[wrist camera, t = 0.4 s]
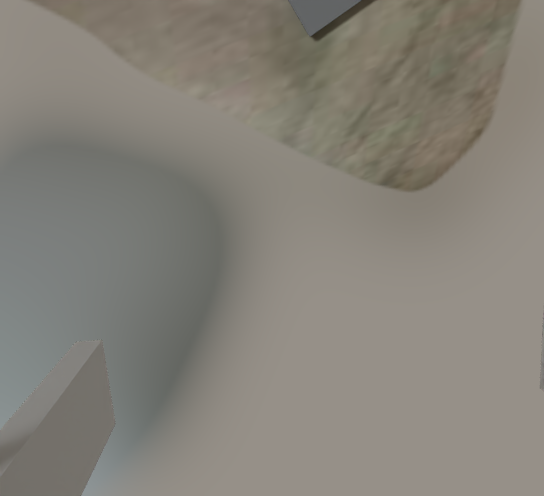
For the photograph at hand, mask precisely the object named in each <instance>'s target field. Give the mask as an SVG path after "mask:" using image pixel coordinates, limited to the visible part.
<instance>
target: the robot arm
mask: <svg viewBox="0 0 544 496" xmlns="http://www.w3.org/2000/svg"><path fill="white" fill-rule="evenodd" d="M540 388H541V389H542V390H543V391H544V314H543V334H542V354H541V375H540ZM114 426H115V418H114V411H113V405H112V399H111V393H110V386H109V380H108V374H107V367H106V361H105V355H104V348H103V342H102V340H93V341H81V342H75V344H74V345H73V346H72V347H71V348H70V349H69V351H68V352H67V353H66V354H65V355H64V356H63V357H62V359H61V360H60V361H59V362H58V363H57V365H56V366H55V367H54V368H53V369H52V370H51V371H50V373H49V374H48V375H47V376H46V377H45V378H44V380H43V381H42V382H41V383H40V384H39V385H38V387H37V388H36V389H35V390H34V392H33V393H32V394H31V395H30V396H29V397H28V398H27V399H26V401H25V402H24V403H23V404H22V405H21V407H19V409H18V410H17V411H16V412H15V413H14V414H13V416H12V417H11V418H10V419H9V420H8V422H7V423H6V424H5V425H4V426H3V427H2V428H1V430H0V496H81V495H82V493H83V491H84V489H85V486H86V484H87V482H88V480H89V478H90V476H91V474H92V472H93V470H94V468H95V466H96V464H97V462H98V459H99V457H100V455H101V453H102V451H103V449H104V447H105V445H106V443H107V441H108V439H109V436H110V434H111V432H112V430H113V428H114Z"/></svg>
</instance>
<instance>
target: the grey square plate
mask: <svg viewBox="0 0 544 496" xmlns="http://www.w3.org/2000/svg"><path fill="white" fill-rule="evenodd" d="M288 1H289V2H290V4H291V6H292V7H293V9H294V11H295V13H296V14H297V16H298V18H299V20H300V21H301V23H302V25H303V26H304V28H305V30H306V32H307V33H308V35H309V36H312V35H313V34H314V33H316V32H317V31H319V30H320V29H321V28H323V27H324V26H326V25H327V24H329V23H330V22H331V21H333V20H334V19H336V18H337V17H338V16H340V15H341V14H343V13H344V12H346V11H347V10H348V9H350V8H351V7H353V6H354V5H355V4H357V3H358V2H360V1H361V0H288Z"/></svg>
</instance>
